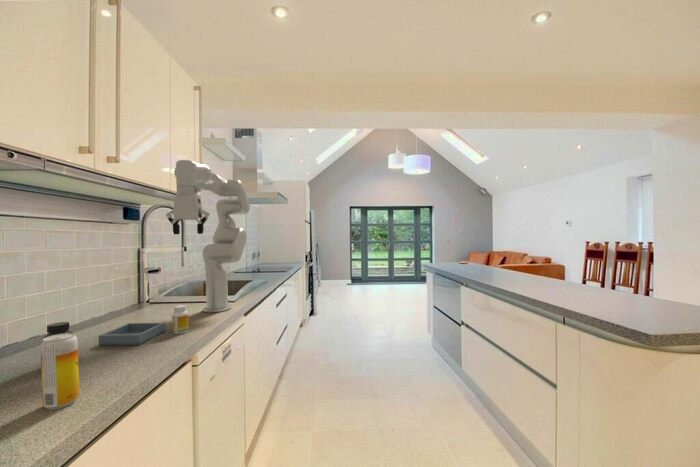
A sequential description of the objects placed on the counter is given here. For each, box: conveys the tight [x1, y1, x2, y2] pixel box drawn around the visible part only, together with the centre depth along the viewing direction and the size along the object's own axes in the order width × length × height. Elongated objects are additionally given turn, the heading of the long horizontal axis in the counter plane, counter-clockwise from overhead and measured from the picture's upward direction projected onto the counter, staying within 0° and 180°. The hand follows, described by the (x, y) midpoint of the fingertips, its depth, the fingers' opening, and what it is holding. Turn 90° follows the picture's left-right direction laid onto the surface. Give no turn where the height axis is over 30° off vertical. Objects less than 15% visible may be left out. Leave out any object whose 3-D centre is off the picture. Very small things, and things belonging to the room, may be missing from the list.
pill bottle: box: [39, 332, 80, 411], centre depth 71 cm, size 6×6×15 cm
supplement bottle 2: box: [171, 304, 190, 335], centre depth 120 cm, size 5×5×10 cm
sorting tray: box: [98, 322, 166, 347], centre depth 113 cm, size 14×14×4 cm
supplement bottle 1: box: [41, 321, 74, 343], centre depth 92 cm, size 7×7×12 cm
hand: (188, 234), depth 129 cm, fingers open, 9 cm apart
